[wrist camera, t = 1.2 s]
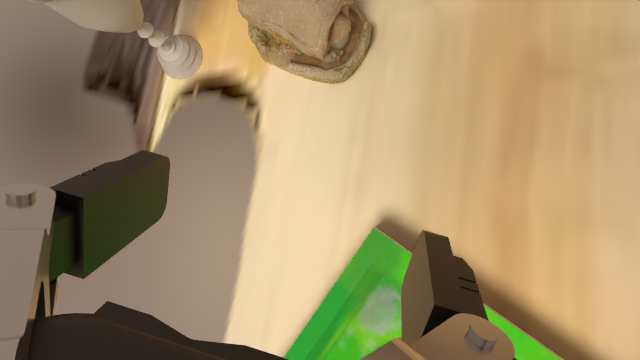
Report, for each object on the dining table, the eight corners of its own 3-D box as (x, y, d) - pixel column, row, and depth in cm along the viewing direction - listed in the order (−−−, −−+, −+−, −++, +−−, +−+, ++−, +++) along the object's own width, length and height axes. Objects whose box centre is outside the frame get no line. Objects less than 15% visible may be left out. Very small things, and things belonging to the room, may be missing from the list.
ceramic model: (230, 41, 44) (185, -8, 35) (285, -45, 44) (255, -119, 34) (335, 105, 42) (318, 70, 32) (394, 14, 41) (395, -49, 32)
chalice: (143, 77, 46) (-12, -11, 28) (163, 21, 46) (21, -101, 28) (199, 94, 44) (72, 14, 27) (220, 37, 45) (107, -81, 27)
